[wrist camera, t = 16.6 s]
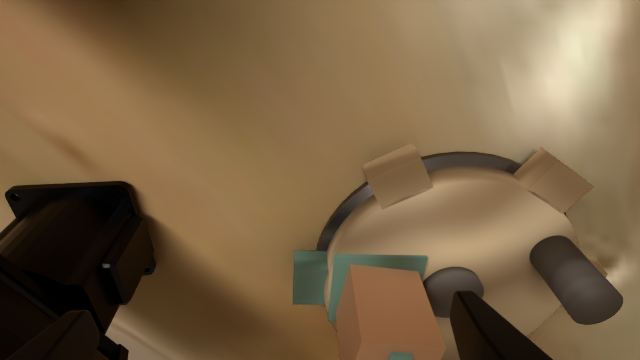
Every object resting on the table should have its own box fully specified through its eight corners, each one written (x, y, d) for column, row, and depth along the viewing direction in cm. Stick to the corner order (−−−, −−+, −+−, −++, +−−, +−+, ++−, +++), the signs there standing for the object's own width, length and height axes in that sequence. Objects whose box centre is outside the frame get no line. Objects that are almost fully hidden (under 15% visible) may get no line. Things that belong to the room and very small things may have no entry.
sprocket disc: (243, 218, 22) (227, 294, 17) (557, 76, 19) (647, 121, 14) (371, 386, 31) (383, 468, 26) (600, 311, 27) (664, 389, 23)
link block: (398, 318, 24) (421, 403, 20) (335, 313, 24) (343, 398, 19) (418, 271, 22) (447, 352, 18) (349, 264, 22) (362, 345, 17)
